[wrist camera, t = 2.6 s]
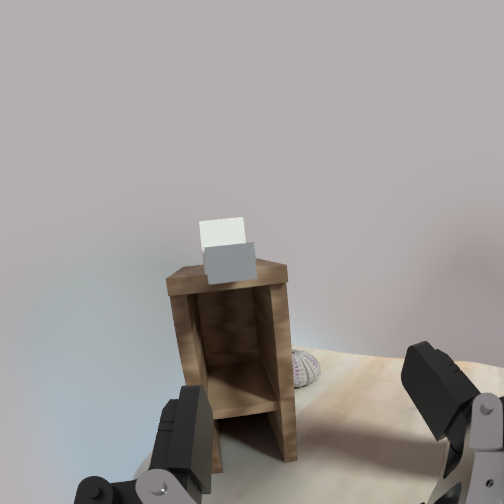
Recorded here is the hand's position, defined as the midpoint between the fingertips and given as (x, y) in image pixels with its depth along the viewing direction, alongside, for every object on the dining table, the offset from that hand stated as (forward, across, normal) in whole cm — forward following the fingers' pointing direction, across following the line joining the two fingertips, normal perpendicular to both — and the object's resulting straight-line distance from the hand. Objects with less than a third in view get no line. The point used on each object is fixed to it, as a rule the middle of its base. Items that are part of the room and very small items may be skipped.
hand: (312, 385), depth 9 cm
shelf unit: (+22, +7, +37) cm, 44 cm away
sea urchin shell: (+43, -5, +44) cm, 62 cm away
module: (+23, +5, +4) cm, 24 cm away
